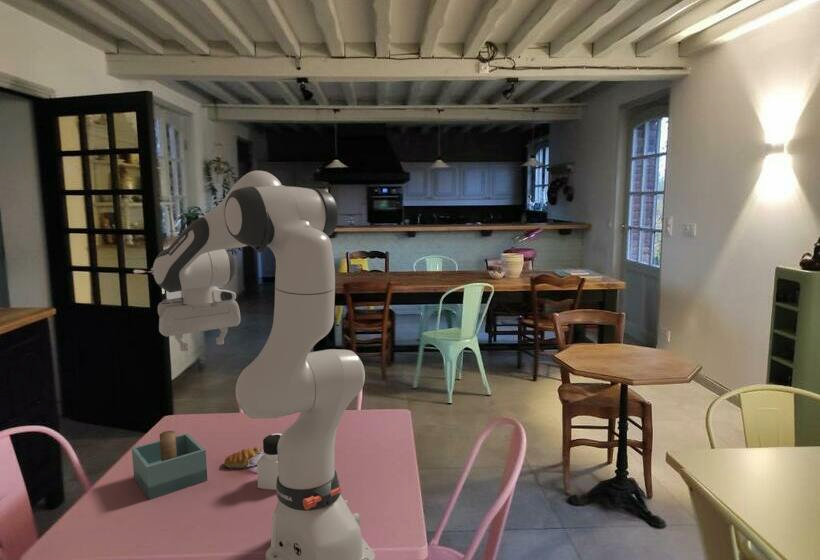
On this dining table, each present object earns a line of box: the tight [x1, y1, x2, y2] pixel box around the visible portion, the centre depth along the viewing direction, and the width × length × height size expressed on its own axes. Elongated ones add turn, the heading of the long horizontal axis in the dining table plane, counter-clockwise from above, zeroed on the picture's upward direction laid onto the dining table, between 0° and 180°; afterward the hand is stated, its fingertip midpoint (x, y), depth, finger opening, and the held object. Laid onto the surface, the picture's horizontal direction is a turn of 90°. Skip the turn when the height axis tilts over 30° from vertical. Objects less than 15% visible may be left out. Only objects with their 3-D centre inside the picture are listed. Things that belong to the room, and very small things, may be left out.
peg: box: [159, 430, 177, 462], centre depth 135 cm, size 4×4×12 cm
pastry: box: [223, 446, 260, 469], centre depth 143 cm, size 9×7×4 cm
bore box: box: [131, 432, 208, 501], centre depth 135 cm, size 14×14×8 cm
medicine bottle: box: [256, 433, 283, 491], centre depth 132 cm, size 7×7×12 cm
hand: (202, 347), depth 142 cm, fingers open, 8 cm apart
